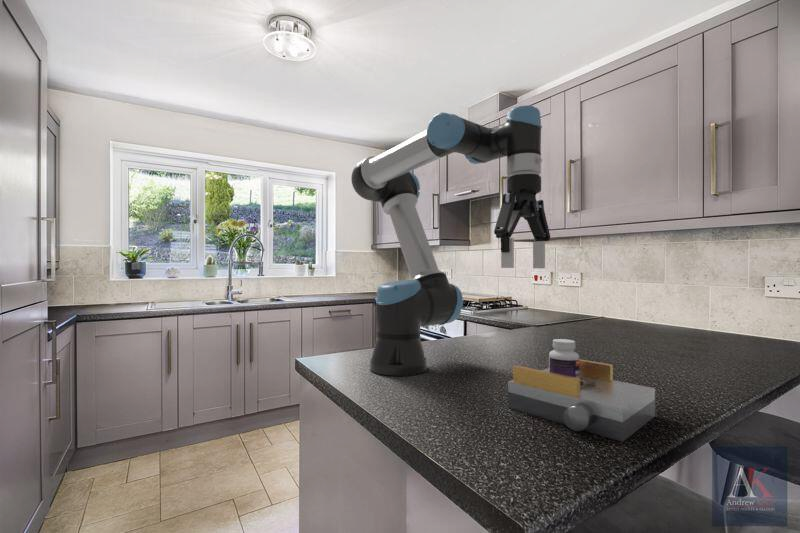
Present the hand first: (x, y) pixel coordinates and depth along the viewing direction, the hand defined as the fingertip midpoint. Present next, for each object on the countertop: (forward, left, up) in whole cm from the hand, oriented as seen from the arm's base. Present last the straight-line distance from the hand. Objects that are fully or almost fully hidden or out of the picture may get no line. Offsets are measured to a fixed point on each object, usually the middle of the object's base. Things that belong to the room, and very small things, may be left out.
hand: (524, 268), depth 90 cm
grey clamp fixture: (+16, -10, -27) cm, 33 cm away
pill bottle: (+13, -8, -24) cm, 28 cm away
